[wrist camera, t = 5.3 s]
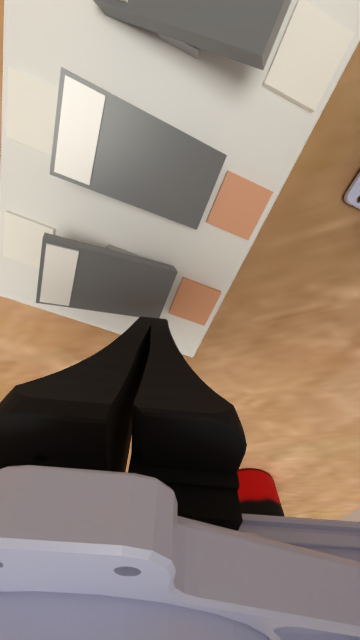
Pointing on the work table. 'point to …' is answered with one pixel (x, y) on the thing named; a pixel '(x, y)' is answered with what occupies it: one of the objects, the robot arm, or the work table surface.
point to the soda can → (258, 493)
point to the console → (178, 111)
